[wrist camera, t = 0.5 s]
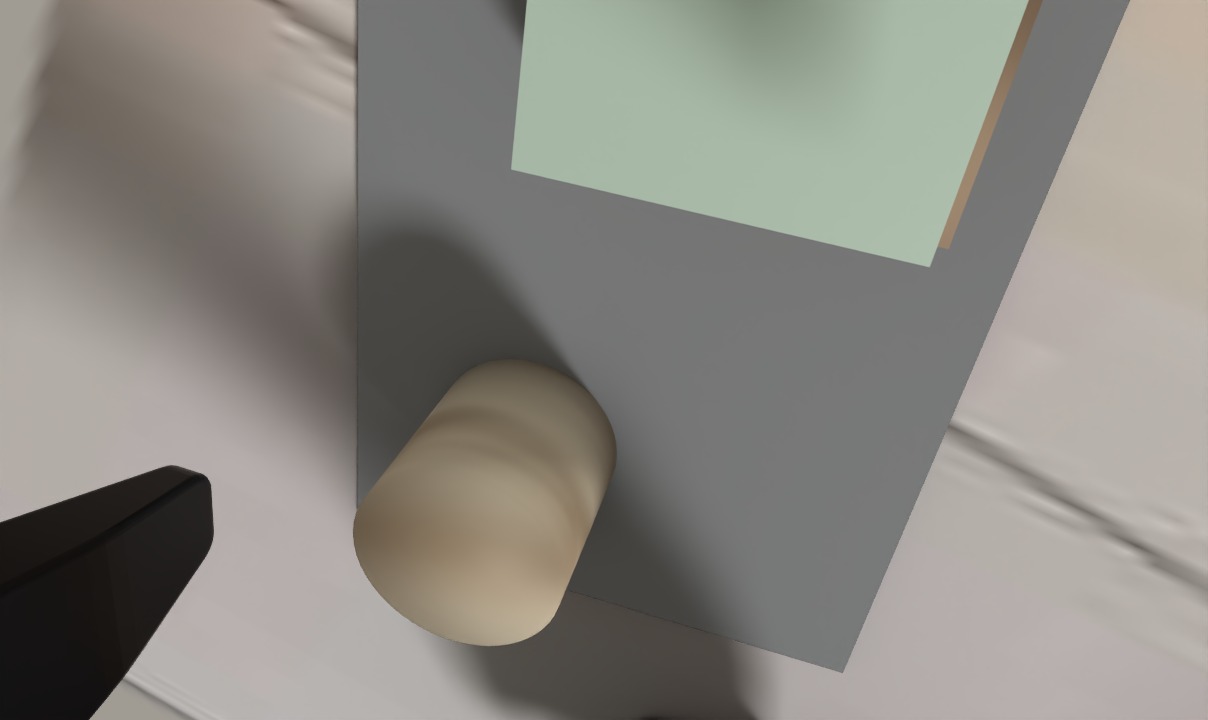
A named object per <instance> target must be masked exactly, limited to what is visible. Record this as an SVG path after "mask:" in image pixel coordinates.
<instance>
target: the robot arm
mask: <svg viewBox="0 0 1208 720" xmlns="http://www.w3.org/2000/svg"><path fill="white" fill-rule="evenodd" d="M213 536H214V526H213V510H212V493H211V484H210V482H209V480H208V478H207V477H206V476H204V475H203V474H201V473H198V472H195V471H191V470H188V469H185V468H182V467H179V466H173V465H170V466H165V467H161V468H158V469H155V470H152V471H149V472H146V473H144V474H141V475H138V476H135V477H132V478H129V479H126V480H123V481H120V482H117V483H114V484H111V485H108V486H105V487H103V488H100V489H97V490H94V491H91V492H88V493H85V494H82V495H79V496H76V497H73V498H70V499H67V500H64V501H62V502H59V503H56V504H53V505H50V506H47V507H44V508H41V509H38V510H35V511H32V512H29V513H26V514H23V515H21V516H18V517H15V518H12V519H9V520H6V521H3V522H0V720H89V719H90V718H91V717H92V716H93V714H94V713H95V712H96V711H97V710H98V708H99V707H100V706H101V705H102V703H103V702H104V701H105V700H106V699H107V697H108V696H109V695H110V694H111V692H112V691H113V690H114V689H115V687H116V686H117V685H118V684H119V683H120V681H121V680H122V679H123V677H124V676H125V675H126V673H127V672H128V671H129V669H130V668H131V666H132V665H133V664H134V662H135V661H136V659H137V658H138V657H139V655H140V654H141V652H142V651H143V649H144V648H145V646H146V645H147V643H148V642H149V640H150V639H151V637H152V636H153V634H154V633H155V632H156V630H157V629H158V627H159V626H160V624H161V623H162V621H163V620H164V618H165V617H166V615H167V614H168V612H169V611H170V609H171V608H172V606H173V605H174V603H175V602H176V600H177V599H178V597H179V596H180V594H181V593H182V591H183V590H184V588H185V587H186V585H187V584H188V583H189V581H190V580H191V578H192V577H193V575H194V574H195V572H196V571H197V569H198V568H199V566H200V565H201V563H202V562H203V560H204V559H205V557H206V555H207V554H208V552H209V550H210V547H211V544H212V541H213Z"/></svg>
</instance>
